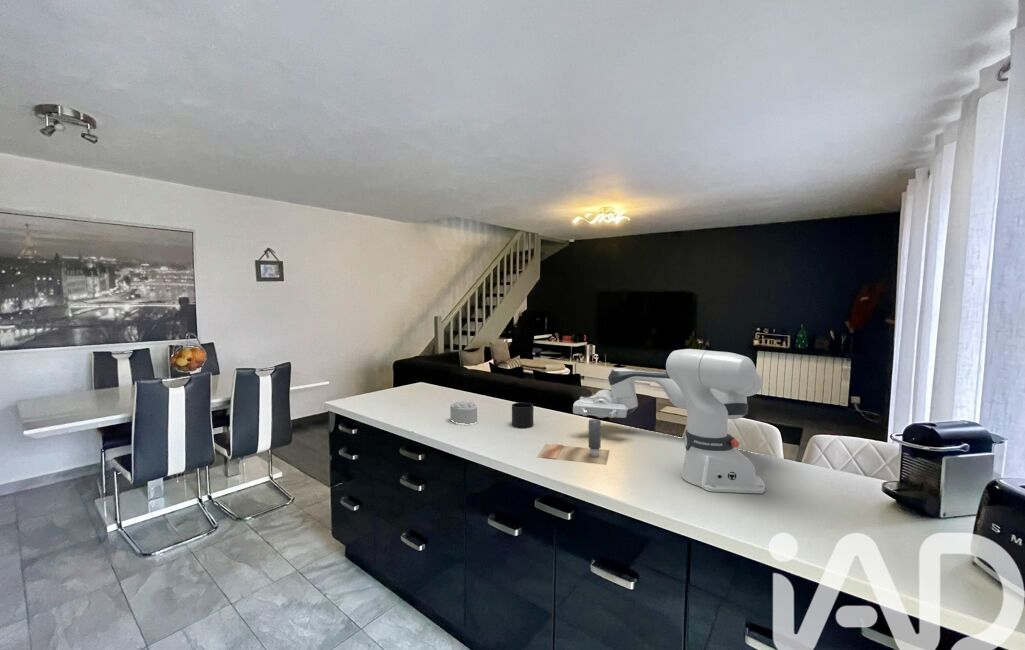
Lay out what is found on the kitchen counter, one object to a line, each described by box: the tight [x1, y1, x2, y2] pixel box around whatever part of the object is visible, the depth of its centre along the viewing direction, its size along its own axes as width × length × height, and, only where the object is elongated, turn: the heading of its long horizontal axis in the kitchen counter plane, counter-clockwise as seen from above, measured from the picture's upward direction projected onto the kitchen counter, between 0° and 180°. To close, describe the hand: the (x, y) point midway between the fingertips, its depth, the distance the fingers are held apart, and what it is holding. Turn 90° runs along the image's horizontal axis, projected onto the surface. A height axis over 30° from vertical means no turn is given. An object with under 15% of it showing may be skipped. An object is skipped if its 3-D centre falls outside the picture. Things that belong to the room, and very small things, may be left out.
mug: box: [511, 401, 534, 429], centre depth 187 cm, size 9×12×9 cm
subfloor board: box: [536, 443, 610, 466], centre depth 147 cm, size 23×14×2 cm, turn 73°
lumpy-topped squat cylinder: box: [449, 400, 478, 424], centre depth 192 cm, size 10×13×9 cm
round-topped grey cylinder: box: [588, 418, 602, 457], centre depth 144 cm, size 4×4×12 cm
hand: (597, 414), depth 157 cm, fingers open, 8 cm apart
